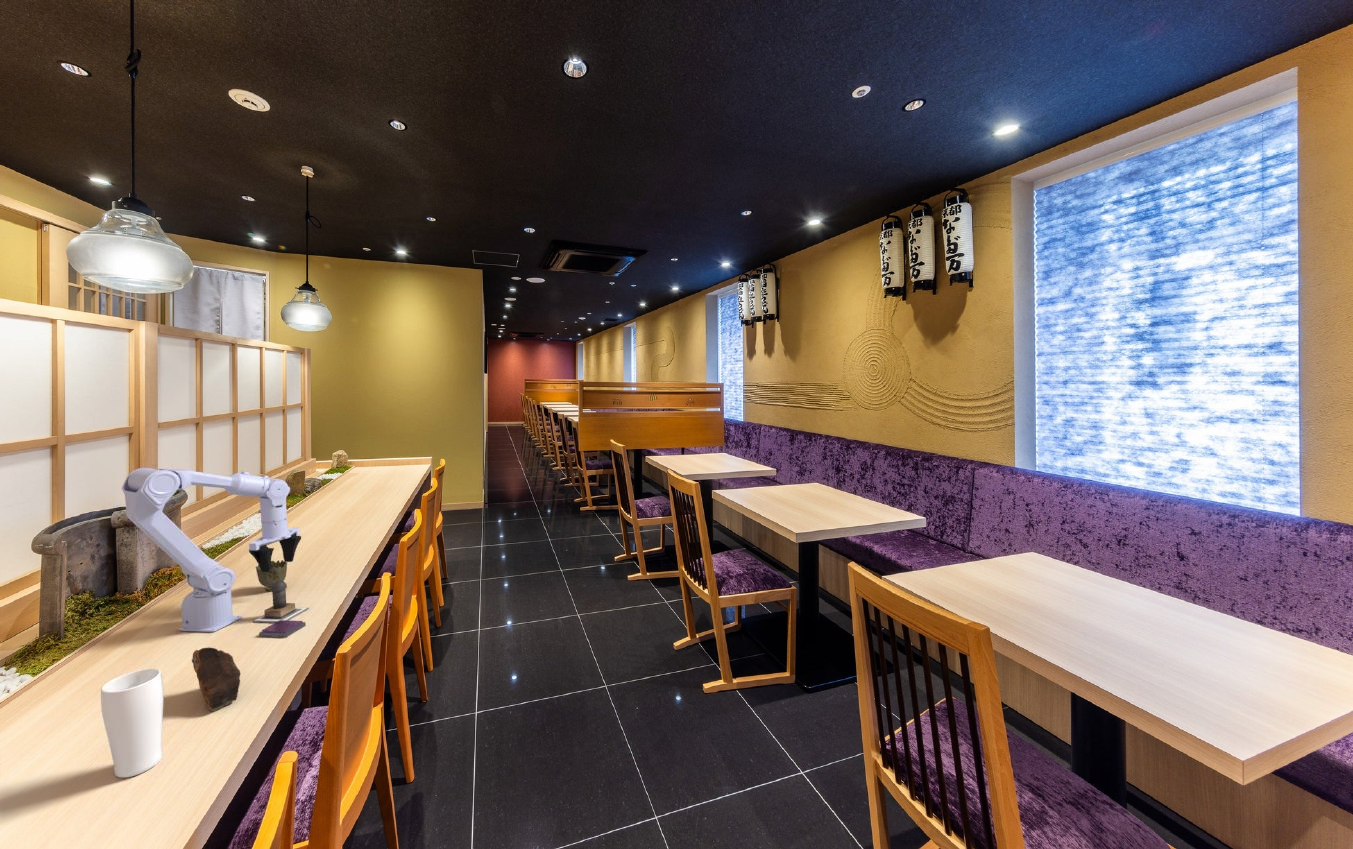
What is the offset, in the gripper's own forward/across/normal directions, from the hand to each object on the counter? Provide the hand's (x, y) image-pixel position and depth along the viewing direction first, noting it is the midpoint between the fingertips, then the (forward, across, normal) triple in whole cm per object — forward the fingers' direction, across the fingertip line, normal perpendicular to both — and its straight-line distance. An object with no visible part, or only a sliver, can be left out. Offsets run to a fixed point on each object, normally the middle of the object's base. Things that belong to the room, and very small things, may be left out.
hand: (277, 566), depth 142 cm
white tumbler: (+10, -60, -30) cm, 68 cm away
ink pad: (+10, -16, -15) cm, 25 cm away
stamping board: (+10, -8, -8) cm, 15 cm away
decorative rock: (+10, -43, -25) cm, 50 cm away
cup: (+11, +8, +9) cm, 16 cm away
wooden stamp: (+10, -9, -8) cm, 15 cm away
